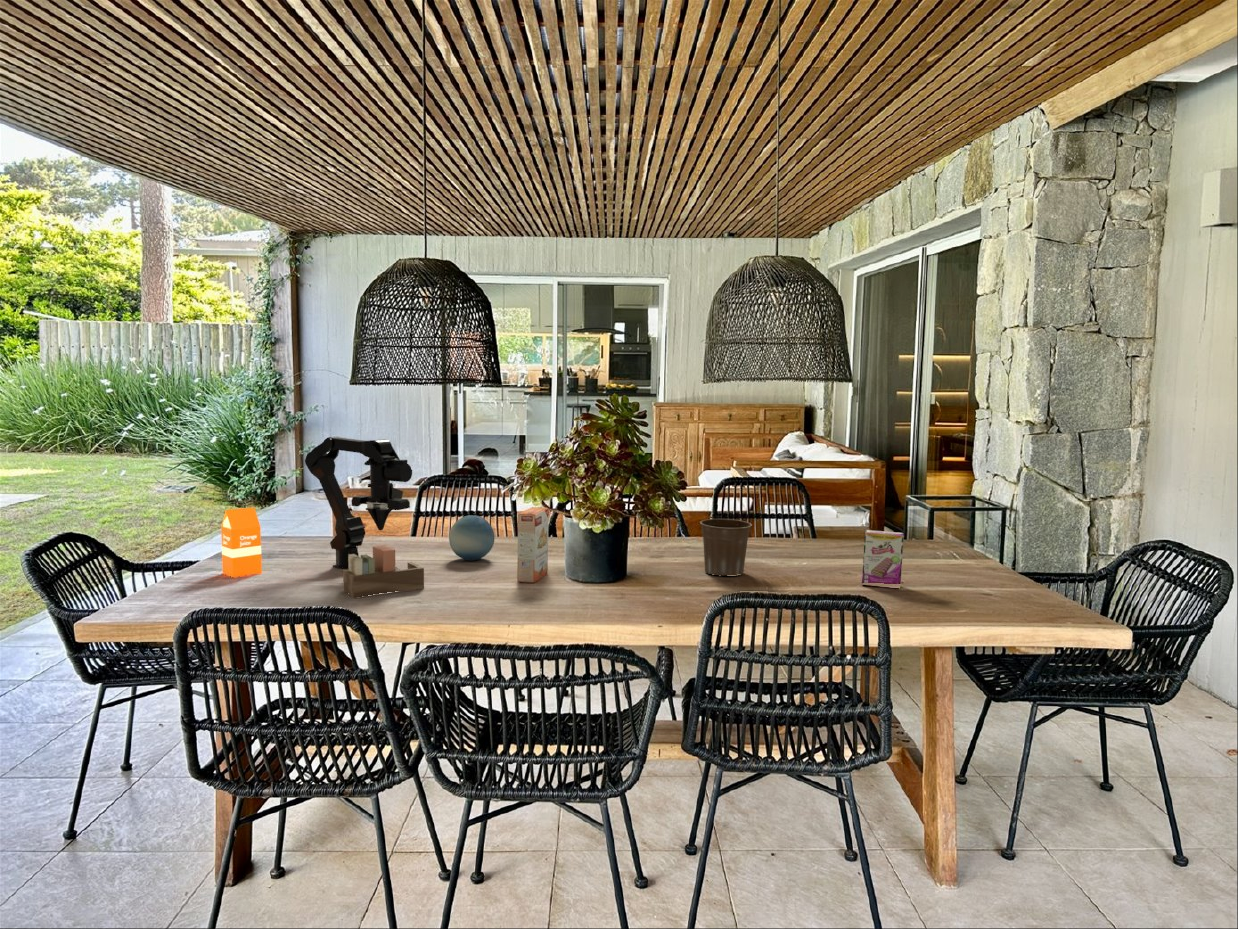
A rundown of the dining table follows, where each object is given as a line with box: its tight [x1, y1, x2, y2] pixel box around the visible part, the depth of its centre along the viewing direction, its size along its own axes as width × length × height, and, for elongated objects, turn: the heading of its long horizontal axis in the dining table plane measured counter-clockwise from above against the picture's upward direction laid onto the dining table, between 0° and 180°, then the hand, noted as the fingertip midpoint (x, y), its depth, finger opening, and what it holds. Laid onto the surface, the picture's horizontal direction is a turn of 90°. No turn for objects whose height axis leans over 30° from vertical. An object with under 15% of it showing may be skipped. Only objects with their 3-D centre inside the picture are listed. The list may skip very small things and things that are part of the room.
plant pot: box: [699, 518, 753, 576], centre depth 258 cm, size 16×16×16 cm
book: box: [372, 544, 396, 573], centre depth 232 cm, size 8×4×12 cm, turn 37°
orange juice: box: [220, 506, 263, 578], centre depth 249 cm, size 8×9×20 cm
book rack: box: [342, 553, 425, 599], centre depth 232 cm, size 10×20×10 cm, turn 125°
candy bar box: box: [861, 529, 905, 584], centre depth 244 cm, size 11×5×16 cm, turn 71°
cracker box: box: [516, 506, 550, 584], centre depth 248 cm, size 14×6×21 cm, turn 168°
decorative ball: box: [448, 514, 496, 561], centre depth 272 cm, size 15×15×15 cm
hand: (380, 530), depth 254 cm, fingers closed
